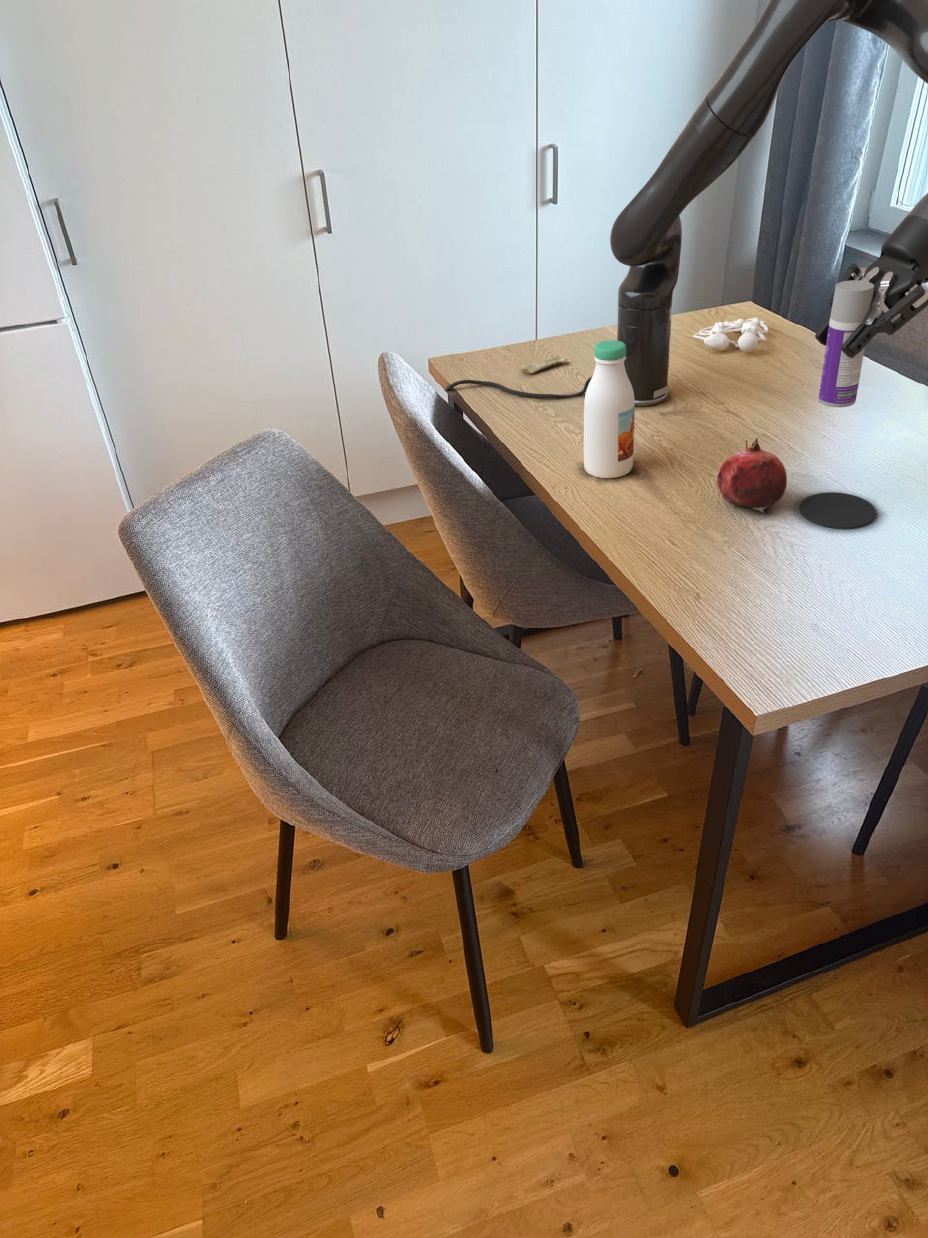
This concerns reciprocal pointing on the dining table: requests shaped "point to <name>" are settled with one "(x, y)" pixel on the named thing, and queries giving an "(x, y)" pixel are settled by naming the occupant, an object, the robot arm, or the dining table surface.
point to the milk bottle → (609, 414)
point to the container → (844, 320)
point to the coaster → (837, 510)
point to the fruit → (752, 478)
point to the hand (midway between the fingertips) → (833, 346)
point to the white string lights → (746, 327)
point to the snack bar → (543, 364)
